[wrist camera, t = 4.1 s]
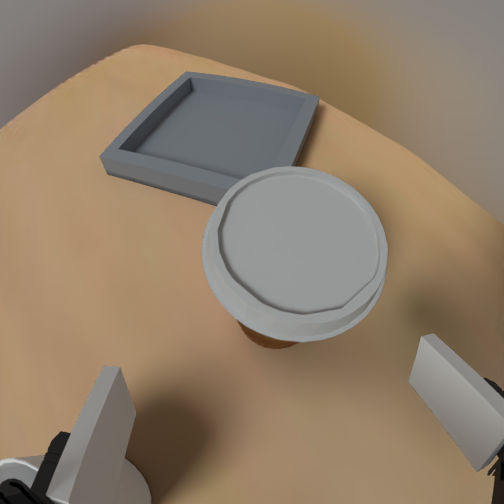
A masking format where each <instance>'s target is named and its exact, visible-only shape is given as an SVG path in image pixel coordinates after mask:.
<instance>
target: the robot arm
mask: <svg viewBox="0 0 504 504" xmlns="http://www.w3.org/2000/svg"><path fill="white" fill-rule="evenodd" d="M408 382H409V383H410V385H411V386H412V387H413V388H414V390H415V391H416V392H417V393H418V395H419V396H420V397H421V398H422V400H423V401H424V402H425V404H426V405H427V406H428V407H429V409H430V410H431V411H432V413H433V414H434V415H435V417H436V418H437V419H438V420H439V422H440V423H441V424H442V426H443V427H444V428H445V430H446V431H447V432H448V434H449V435H450V436H451V438H452V439H453V440H454V442H455V443H456V444H457V446H458V447H459V448H460V450H461V451H462V452H463V454H464V455H465V457H466V458H467V459H468V461H469V462H470V463H471V465H472V466H473V468H474V469H475V470H476V472H478V471H480V470H481V469H483V468H484V467H486V466H487V465H489V464H490V463H491V461H492V460H493V459H494V457H495V456H496V455H497V456H498V457H499V459H498V460H497V461H496V463H495V464H494V465H493V466H492V468H491V469H490V470H489V471H488V474H487V475H490V474H491V473H492V472H493V470H494V469H495V468H496V470H495V472H494V473H493V475H492V476H495V481H494V490H493V497H492V504H504V391H502V389H501V388H500V387H499V386H498V385H497V384H496V383H495V382H493V381H491V380H489V379H487V378H484V379H483V378H482V377H481V376H480V375H479V374H478V373H477V372H476V371H474V370H473V369H472V368H471V367H470V366H469V365H468V364H467V363H466V362H465V361H464V360H463V359H462V358H460V357H459V356H458V355H457V354H456V353H455V352H454V351H453V350H452V349H451V348H449V347H448V346H447V345H446V344H445V343H444V342H443V341H442V340H440V339H439V338H438V337H437V336H436V335H435V334H434V333H432V334H428V335H424V336H421V339H420V343H419V347H418V351H417V354H416V358H415V361H414V365H413V368H412V372H411V375H410V378H409V381H408ZM136 413H137V412H136V410H135V407H134V405H133V402H132V399H131V397H130V394H129V391H128V388H127V385H126V383H125V380H124V377H123V374H122V371H121V368H120V367H118V366H104V367H103V368H102V370H101V372H100V374H99V376H98V378H97V380H96V382H95V384H94V386H93V388H92V390H91V392H90V394H89V396H88V398H87V400H86V402H85V404H84V407H83V409H82V411H81V413H80V415H79V417H78V419H77V421H76V424H75V426H74V428H73V430H72V432H71V433H67V432H62V431H61V432H60V433H59V434H58V435H57V436H56V437H55V438H54V439H53V440H52V441H51V444H50V446H49V448H48V450H47V451H48V452H46V454H45V456H44V461H42V463H41V465H40V467H39V470H38V472H37V474H36V477H35V479H34V481H33V484H32V486H31V488H29V487H28V486H27V485H26V484H25V483H23V482H22V481H21V480H18V479H15V478H12V479H7V480H5V481H3V482H2V483H1V484H0V504H114V500H115V495H116V491H117V487H118V482H119V478H120V474H121V470H122V466H123V462H124V458H125V454H126V450H127V446H128V442H129V438H130V435H131V431H132V427H133V424H134V420H135V417H136Z"/></svg>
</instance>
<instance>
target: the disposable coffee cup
mask: <svg viewBox="0 0 504 504" xmlns="http://www.w3.org/2000/svg"><path fill="white" fill-rule="evenodd" d="M387 254H388V247H387V242H386V237H385V232H384V229H383V226H382V224H381V222H380V219H379V217H378V215H377V214H376V212H375V211H374V210H373V208H372V207H371V205H370V204H369V202H368V201H367V200H366V199H365V198H364V197H363V196H362V195H361V194H360V193H359V192H358V191H356V190H355V189H354V188H353V187H352V186H350V185H348V184H347V183H345V182H344V181H342V180H340V179H339V178H337V177H334V176H332V175H330V174H328V173H325V172H322V171H319V170H315V169H310V168H305V167H294V166H286V167H274V168H270V169H267V170H264V171H260V172H257V173H254V174H251V175H249V176H247V177H246V178H244V179H242V180H240V181H239V182H238V183H236V184H235V185H234V186H233V187H231V188H230V189H229V190H228V191H227V193H226V194H225V195H224V197H223V198H222V199H221V201H220V202H219V203H218V205H217V207H216V209H215V210H214V212H213V214H212V215H211V217H210V219H209V220H208V223H207V226H206V229H205V231H204V235H203V242H202V263H203V268H204V271H205V274H206V277H207V280H208V283H209V286H210V288H211V289H212V291H213V293H214V294H215V296H216V298H217V299H218V301H219V302H220V303H221V304H222V305H223V307H224V308H225V309H226V310H227V311H228V313H229V314H231V315H232V316H233V317H234V318H236V319H237V321H238V323H239V324H240V326H241V328H242V330H243V331H244V333H245V334H246V335H247V336H248V337H249V338H250V339H251V340H252V341H254V342H255V343H257V344H258V345H261V346H263V347H266V348H273V349H281V348H286V347H290V346H292V345H294V344H297V343H300V342H311V341H318V340H324V339H328V338H332V337H334V336H337V335H339V334H341V333H343V332H345V331H346V330H348V329H350V328H352V327H353V326H355V325H356V324H357V323H359V322H360V321H361V320H362V319H363V318H364V317H365V316H366V315H367V314H368V313H369V312H370V310H371V309H372V308H373V306H374V305H375V304H376V302H377V300H378V298H379V296H380V294H381V291H382V288H383V285H384V281H385V275H386V266H387Z"/></svg>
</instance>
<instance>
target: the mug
mask: <svg viewBox="0 0 504 504" xmlns="http://www.w3.org/2000/svg"><path fill="white" fill-rule="evenodd" d="M44 456H45V455H39V456H30V457H20V458H9V459H3V460H1V461H0V484H1V483H2V482H3V481H5V480H7V479H12V478H15V479H18V480H21V481H22V482H23V483H25V484H26V485H27V486H28V487H29V488H31V486H32V484H33V481H34V479H35V477H36V474H37V472H38V470H39V467H40V465H41V463H42V461H44ZM114 504H151V495H150V491H149V487H148V485H147V483H146V481H145V479H144V477H143V476H142V474H141V473H140V472H139V471H138V470H137V468H136V467H135V466H134V465H133V464H132V463H130V462H129V461H128V460H127V459H126V458H124V462H123V466H122V470H121V474H120V478H119V482H118V487H117V491H116V495H115V500H114Z"/></svg>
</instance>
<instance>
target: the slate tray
mask: <svg viewBox="0 0 504 504" xmlns="http://www.w3.org/2000/svg"><path fill="white" fill-rule="evenodd" d="M319 99H320V97H318V96H315V95H311V94H307V93H304V92H300V91H296V90H292V89H288V88H283V87H279V86H275V85H270V84H265V83H260V82H255V81H250V80H244V79H239V78H233V77H226V76H219V75H212V74H204V73H195V72H185V73H184V74H183V75H181V76H180V77H179V78H178V79H177V80H175V81H174V82H173V83H172V84H171V85H170V86H169V87H167V88H166V89H165V90H164V91H163V92H162V93H161V94H160V95H159V96H157V97H156V98H155V99H154V100H153V101H152V102H151V103H150V104H149V105H148V106H147V107H146V108H145V109H144V110H143V111H142V112H141V113H140V114H139V115H138V116H137V117H136V118H135V119H134V120H133V121H132V122H131V123H130V124H129V125H128V126H127V127H126V128H125V129H124V130H123V131H122V132H121V133H120V134H119V135H118V136H117V137H116V138H115V140H114V141H113V142H112V143H111V144H110V145H109V146H108V147H107V148H106V149H105V151H104V152H103V153H102V154H101V155H100V156H99V157H100V159H101V161H102V163H103V166H104V168H105V170H106V172H107V174H108V175H112V176H115V177H119V178H123V179H126V180H130V181H133V182H137V183H140V184H144V185H147V186H151V187H154V188H158V189H161V190H165V191H168V192H171V193H175V194H178V195H182V196H185V197H188V198H192V199H195V200H198V201H202V202H205V203H208V204H211V205H215V206H217V205H218V203H219V202H220V201H221V199H222V198H223V197H224V195H225V194H226V193H227V191H228V190H229V189H230V188H231V187H233V186H234V185H235V184H236V183H238V182H239V181H240V180H242V179H244V178H246V177H247V176H249V175H251V174H254V173H257V172H260V171H264V170H267V169H270V168H274V167H286V166H294V167H295V166H296V164H297V161H298V159H299V156H300V154H301V151H302V149H303V146H304V144H305V141H306V139H307V136H308V134H309V131H310V129H311V126H312V123H313V121H314V118H315V116H316V113H317V108H318V103H319Z"/></svg>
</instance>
